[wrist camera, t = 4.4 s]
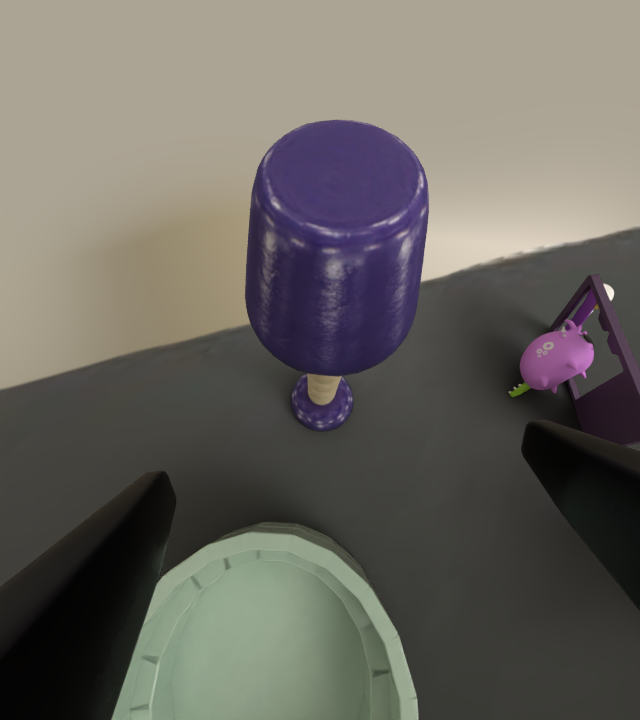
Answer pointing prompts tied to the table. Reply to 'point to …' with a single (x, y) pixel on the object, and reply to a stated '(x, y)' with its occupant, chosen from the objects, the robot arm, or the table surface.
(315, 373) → the toy lamp
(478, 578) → the table surface
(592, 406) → the pig swing toy
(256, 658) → the basin
